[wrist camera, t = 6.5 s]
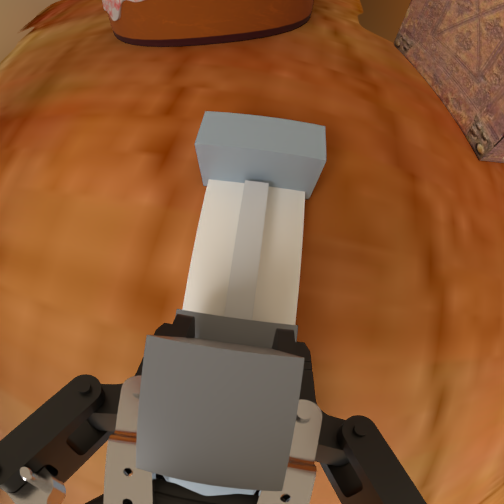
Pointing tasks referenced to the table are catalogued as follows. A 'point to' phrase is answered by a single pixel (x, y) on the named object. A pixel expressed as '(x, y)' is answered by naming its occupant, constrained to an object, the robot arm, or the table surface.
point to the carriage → (219, 404)
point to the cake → (203, 20)
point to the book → (462, 64)
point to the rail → (251, 222)
